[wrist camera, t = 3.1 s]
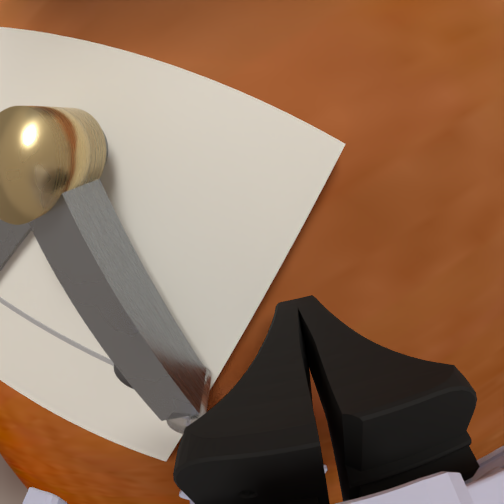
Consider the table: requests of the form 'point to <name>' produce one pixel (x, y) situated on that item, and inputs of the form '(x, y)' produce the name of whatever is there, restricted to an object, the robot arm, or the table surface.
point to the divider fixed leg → (11, 239)
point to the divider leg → (96, 255)
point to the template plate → (155, 220)
